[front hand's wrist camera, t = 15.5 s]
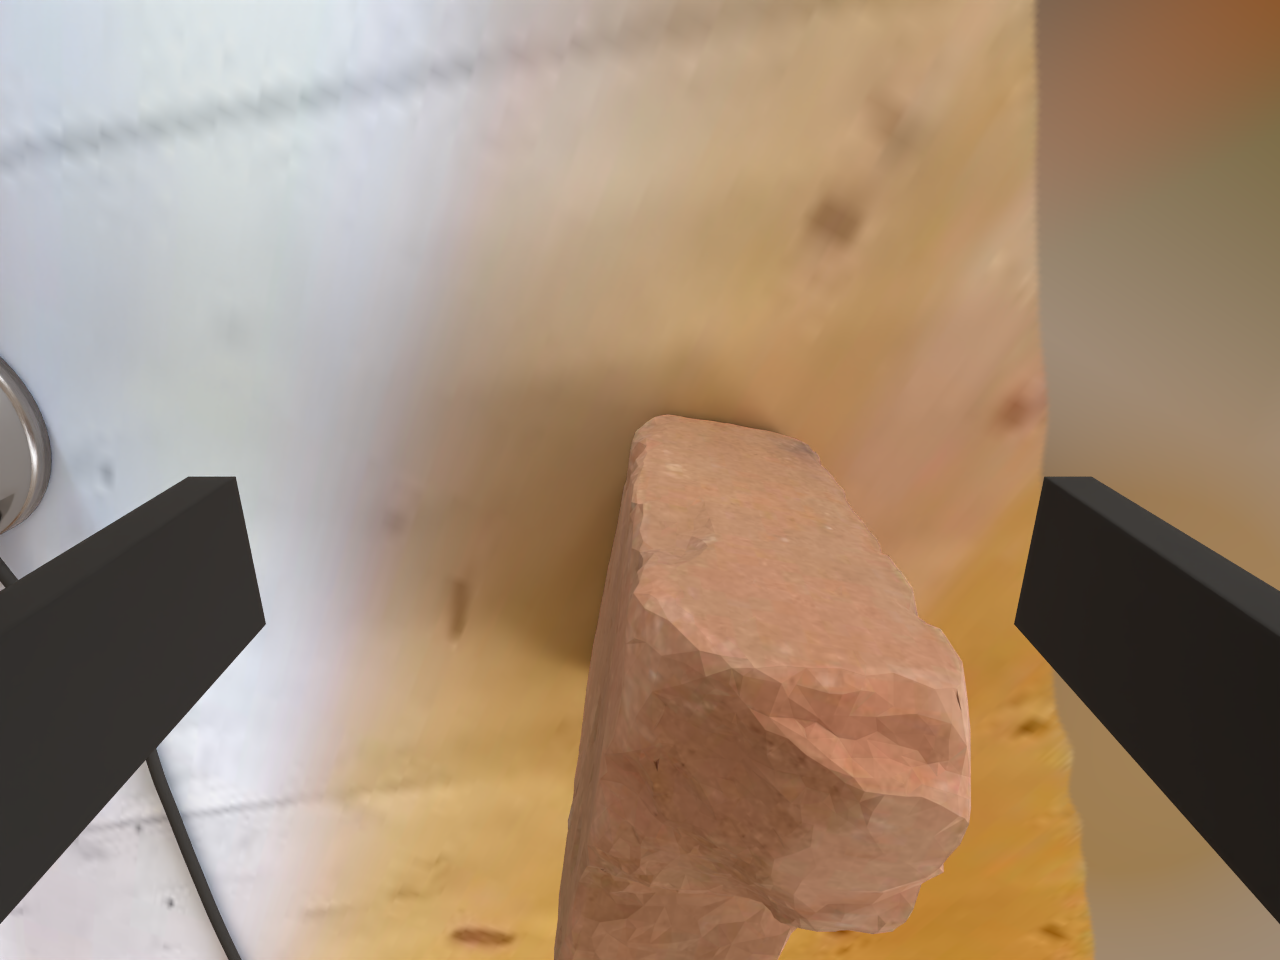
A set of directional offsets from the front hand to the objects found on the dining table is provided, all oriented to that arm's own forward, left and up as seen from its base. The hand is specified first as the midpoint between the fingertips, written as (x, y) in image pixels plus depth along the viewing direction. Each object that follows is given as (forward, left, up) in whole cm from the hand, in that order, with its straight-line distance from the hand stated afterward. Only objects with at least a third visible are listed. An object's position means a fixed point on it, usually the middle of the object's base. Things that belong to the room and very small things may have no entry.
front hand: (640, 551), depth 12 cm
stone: (-17, -3, -34) cm, 38 cm away
